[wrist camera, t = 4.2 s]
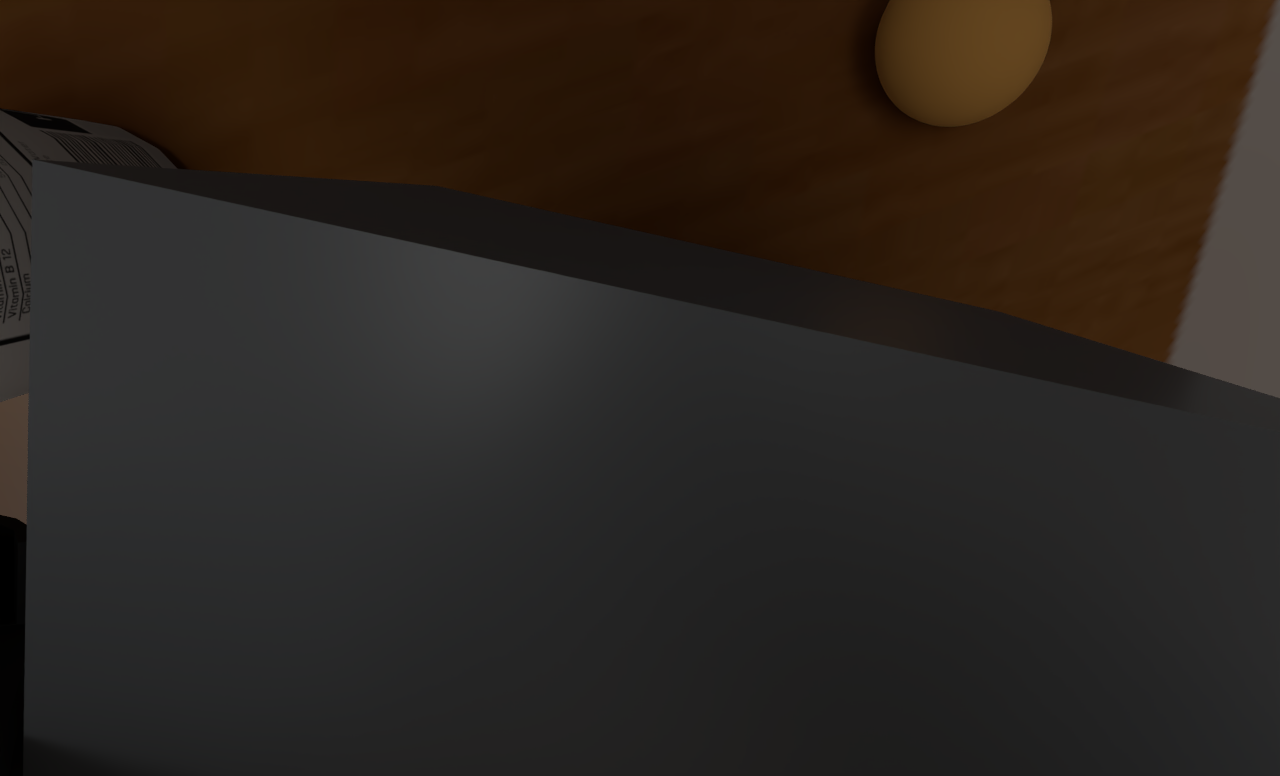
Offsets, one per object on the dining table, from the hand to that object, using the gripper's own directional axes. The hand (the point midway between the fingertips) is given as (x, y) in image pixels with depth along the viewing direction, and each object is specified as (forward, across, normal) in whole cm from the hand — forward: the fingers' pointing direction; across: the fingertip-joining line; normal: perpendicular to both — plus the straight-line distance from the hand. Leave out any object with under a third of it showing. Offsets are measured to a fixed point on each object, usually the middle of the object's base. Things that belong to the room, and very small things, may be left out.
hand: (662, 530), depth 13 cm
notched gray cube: (+1, 0, 0) cm, 1 cm away
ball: (+12, +7, +12) cm, 19 cm away
